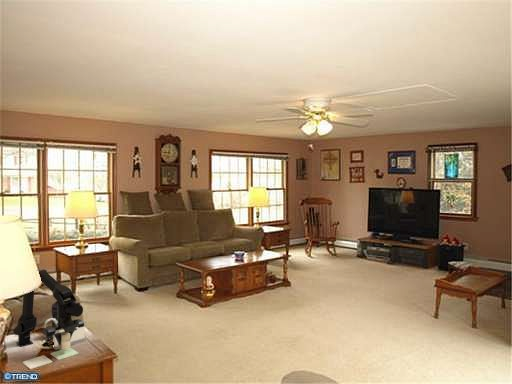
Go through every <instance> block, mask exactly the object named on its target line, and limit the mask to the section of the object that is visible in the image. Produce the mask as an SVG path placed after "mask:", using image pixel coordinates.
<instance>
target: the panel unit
mask: <svg viewBox="0 0 512 384" xmlns="http://www.w3.org/2000/svg"><path fill="white" fill-rule="evenodd" d="M76 328H77V330H75V331H74V332H73V334H72V337H71V339H70V346H73V345H76V344H79V343H83V342H86V339H87V338H86V335H85V334H86V331H85V330H86V328H85V322H84V327H80V328H78V327H76ZM59 331H60V332H64V329H63V330H59ZM53 342H54V348H53V349H54V350H57V351H58V350H61V348H59V347H58V342H57V340H56V338H55V336H54V335H53Z"/></svg>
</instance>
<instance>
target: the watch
mask: <svg viewBox="0 0 512 384" xmlns="http://www.w3.org/2000/svg"><path fill="white" fill-rule="evenodd" d="M52 320H53V322H54V323H55V325H56V326H57V323H58V321H57V320H56V319H55V318H54V319H53V318H52V317H50V318H48V319H46V320H45V321H44V323H43V329H44V328H46V327H47V326H46V325H47V324H48V322H50V321H52ZM57 327H58V326H57ZM52 336H53V335H51V336H46V335H45V338H46V340H48V339H49V338H51V337H52Z"/></svg>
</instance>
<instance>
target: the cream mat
mask: <svg viewBox="0 0 512 384" xmlns="http://www.w3.org/2000/svg"><path fill="white" fill-rule="evenodd" d="M21 363H22V364H23V365H24V366H25V367H27V368H28V369H29V370H33V369H35V368H39V367H42V366H45V365H48V364H51V363H53V361H52V360H51V359H50V358H48V357H47V356H46V355H45V354H44V355H40V356H36V357H33V358H29V359H27V360H24V361H21Z"/></svg>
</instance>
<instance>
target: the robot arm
mask: <svg viewBox="0 0 512 384" xmlns="http://www.w3.org/2000/svg"><path fill="white" fill-rule="evenodd" d="M37 271H39V274H40V277H41V281H42V282H41V281H40V282H41V283H42V284H43V285H45V286H46V288H48V289H49V290H50V291H51V293H52V296H53V298H54V299H55V300H56V301H55V302H54V303H53V304H56V305H58V315H57V318H58V323H57V326H58V327H55V328H53V327H52V325H50V326H46V328H44V327H43V329H42V334H43V335H45V337H46V336H51V335H54V336H55V338H56V340H57V342H58V344H59V345H61V338H60V335H61V333H60V331H59V330H63V329H64V331H65V332H66V333H68V332H69V333H70V339H71V337H72V334H73V332H74V331H75V330H77V328H76V327H78V328H80V327H84V323H85V321H84V320H82V319H80V318H78V317H80V316H82V314H83V312H84V307H83V305H81V303H80V302H78V301H77V299H76V298H77V297H76V296H75V295H74V293H73V290H72V289H71V288H70V287H68V286H67V285H65V284H62V283H59V281H57V280H56V279H55V278H54V277H53V276H52V275H50V274H49V273H48V270H46V269H44V268H43V269H39V270H37ZM22 295H23V294H22ZM34 301H35V290H34V291H32V292H30V293H28V294H25V295H23V297H22V309H21V311H22V313H21V315H20V317H19V318H18V321H17V325H16V326H15V327H14V329H13V331H12V332H13V335H14V336H15V335H16V336H17V337H18V339H17V342H15V344H16V345H17V346H18V347H19V348H20V347H25V346H28V345H31V344H34V342H33V341H32V340H31V332H32V331H35V329H36V325H37V324H38V323H37V321H38V319H37V316H35V315H34V303H35V302H34ZM72 317H76V318H77V319H72Z"/></svg>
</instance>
